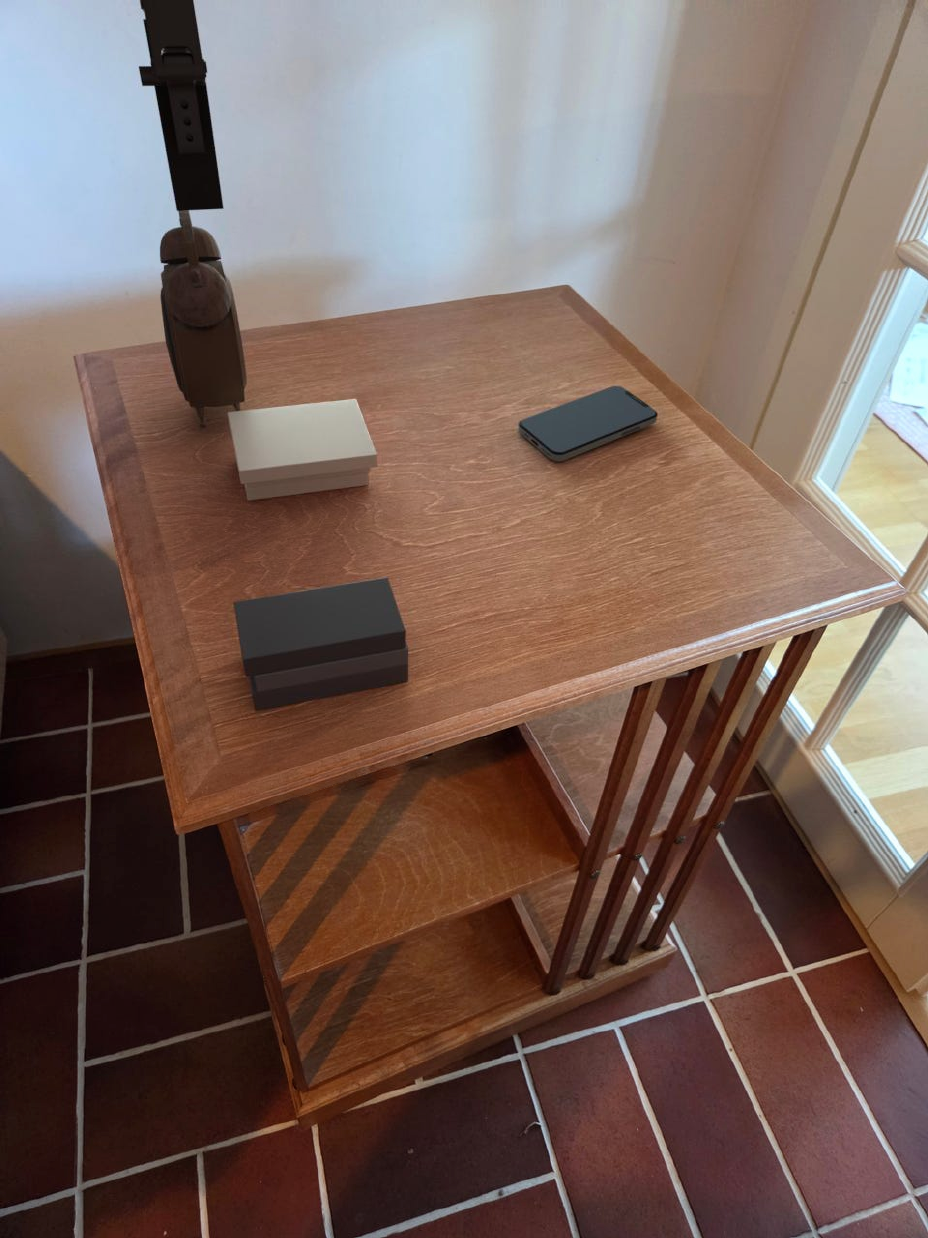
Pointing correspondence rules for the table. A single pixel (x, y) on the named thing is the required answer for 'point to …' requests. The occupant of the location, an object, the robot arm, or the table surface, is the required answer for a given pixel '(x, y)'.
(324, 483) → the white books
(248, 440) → the light grey rectangular slab
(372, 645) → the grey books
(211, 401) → the alarm clock
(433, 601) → the table surface
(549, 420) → the smartphone
